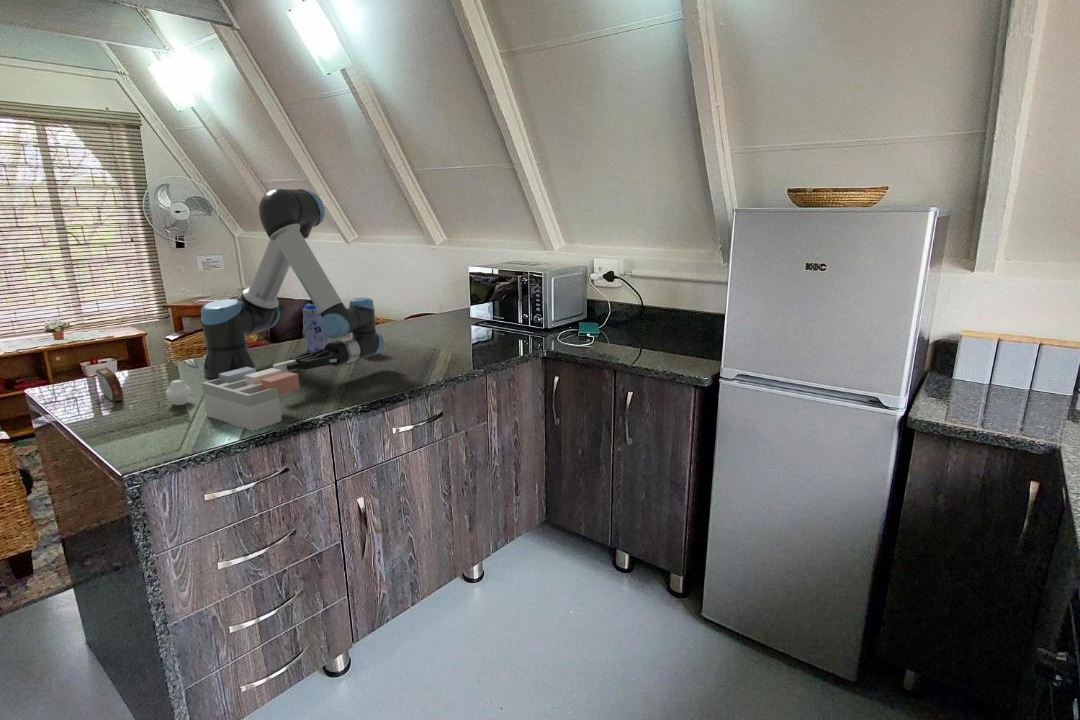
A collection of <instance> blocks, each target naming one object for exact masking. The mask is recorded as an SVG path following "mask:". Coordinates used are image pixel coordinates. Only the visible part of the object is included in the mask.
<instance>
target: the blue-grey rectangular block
mask: <svg viewBox="0 0 1080 720" xmlns="http://www.w3.org/2000/svg"><path fill="white" fill-rule="evenodd" d="M255 372H257V368H256V369H254V368H250V367H244V368H240V369H236V370H232V371H228V372H224V373H220V374H219V379H220V384H224V383H227V382H231V381H235V380H238V379H242V378H244V379H245V375H248V374H251V373H255Z"/></svg>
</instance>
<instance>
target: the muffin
mask: <svg viewBox="0 0 1080 720" xmlns="http://www.w3.org/2000/svg"><path fill="white" fill-rule="evenodd" d="M191 393H192V388H191V387H190V386H188V385H187V384H186V383H185V381H184V380H183V379H176V380H172V381H170V383H169V386H168V388H167V389H166V390H165V395H166V397H167V398H168V399H169V401H170V402H171V403H172V404H173V405H174V406H181V405H182V406H183V405H185V404H187V403H188V401H189V400H190V397H191Z"/></svg>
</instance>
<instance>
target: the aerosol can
mask: <svg viewBox="0 0 1080 720" xmlns="http://www.w3.org/2000/svg"><path fill="white" fill-rule="evenodd" d="M302 316H303V325H304V335H305V343H306V344H305V345H306V352H307V351H308V350H311V352H315V351H317V350H320V349H323V350H324V348H325V346H326V345H327V344H328V343H329V340H328V337H327V336H326V335H324V334H323V332H322V331H321V326H320V322H321V319H322V317H321V315H320V313H319V312H318V310H317V308H316V307H315V305H314V303H313V302H312V300H311V299H309V302H308V303H307V304H306V305H304V307H302Z"/></svg>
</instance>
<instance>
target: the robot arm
mask: <svg viewBox="0 0 1080 720" xmlns="http://www.w3.org/2000/svg"><path fill="white" fill-rule="evenodd" d="M325 212H326V210H325V207H324V203H323V201H322V199H321V198H320V196H318V194H317V193H315V192H314V191H312V190H309V189H304V188H297V189H290V188H274V189H272V190H269V191H268V192H267V191H266V193H265V194H264V195H263V196H262V197H261V199H260V202H259V206H258V214H259V215H258V216H259V220H260V223H261V225H262V227H263V230H264V232H265V233H266V235H267V237H268V238H269V241H268V243H267V246H266V248H265V251H264V253H263V255H262V258H261V260H260V263H259V266H258V267H257V270H256V272H255V275H254V276H253V279H252V283H251V284H250V287H247V288H246V287H245V289H244V290H242V293H241V295H240V297H239V300H238V299H236V298H235V299H234V298H227V299H226V298H225V299H220V300H214V301H210V302H208V303H206V304H204V305H203V306H202V307H201V310H200V314H201V317H200V322H201V324H202V331H203V336H204V342H205V350H206V355H205V360H204V364H203V375H204V377H205V378H208V379H211V380H215V379H218V378H219V374H220V373H224V372H228V371H232V370H236V369H240V368H244V367H250V368H254V369H256V370H257V368H256V364H255V361H254V359H253V357H252V355H251V353H250V351H249V350H248V346H247V339H246V337H248V336H251V335H254V334H258V333H261V332H267V330H269V329H271V328H273V327H274V326H276V325H277V323H278V322H279V319H280V316H281V311H280V310H279V309H280V306H279V305H280V304H279V303H280V302H279V300H278V299H277V297H278V295H279V292H280V289H281V287H282V286H283V283H284V280H285V279H286V276H287V273H288V272H289V269H290V268H291V269H292V271H293V273H294V274H295V275H296V276H295V277H297V278H298V280H299V282H300V284H301V286H302V287H303V288H304V290H305V292H306V294H307V296H308V298H310V299H309V300H312V302H313V303H314V305H315V307H316V308H317V310H318V312H319V313H320V315H321V317H322V319H321V322H320V326H321V331H322V332H323V334H324V335H326V336H327V338H329V339H337V338H341V339H338V340H334V341H330V342H328V344H327V345H326V346H325V348H324V350H323V349H320V350H317V351H315V352H311V350H308V351H307V350H306V351H305V352H301V353H300V354H297V355H294V356H292V357H289V358H288V359H289V360H286V361H283V362H278V363H274V364H272V368H274V369H278V370H281V372H282V373H286V372H292V371H297V370H302V369H303V370H305V371H307V370H311V369H316V368H320V367H325V366H334V367H337V366H341V365H344V364H347V363H348V364H352V362H353V361H358V360H360V359H361V360H362V359H364V358H368V357H372V356H375V355H377V354H379V353H381V352H383V350H384V348H385V341H384V338H383V335H382V334H381V333H380V332H378V331H376V316H375V315H376V313H375V305H374V300H373V299H372V298H370V297H353V298H352V299H351V298H350V300H349V306H348V308H347V307H346V305H344V303H343V301H342V299H341V298H340V296H339V294H338V292H337V291H336V289H335V288H334V285H332V283H331V280H329V278H328V276H327V274H326V273H325V271H324V269H323V268H322V266H321V265H320V263H319V261H318V259H317V258H316V256H315V254H314V253H313V251H312V250H311V248H310V246H309V244H308V243H307V241H306V240H307V239H308V238H309V236H310V234H311V232H312V229H313V228H315V227H317V226H319V225H320V224H321V223H322V222H323V221H324V219H325ZM351 333H352V336H353V337H351V336H350V337H346V338H342V337H345V336H347V335H349V334H351Z"/></svg>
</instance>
